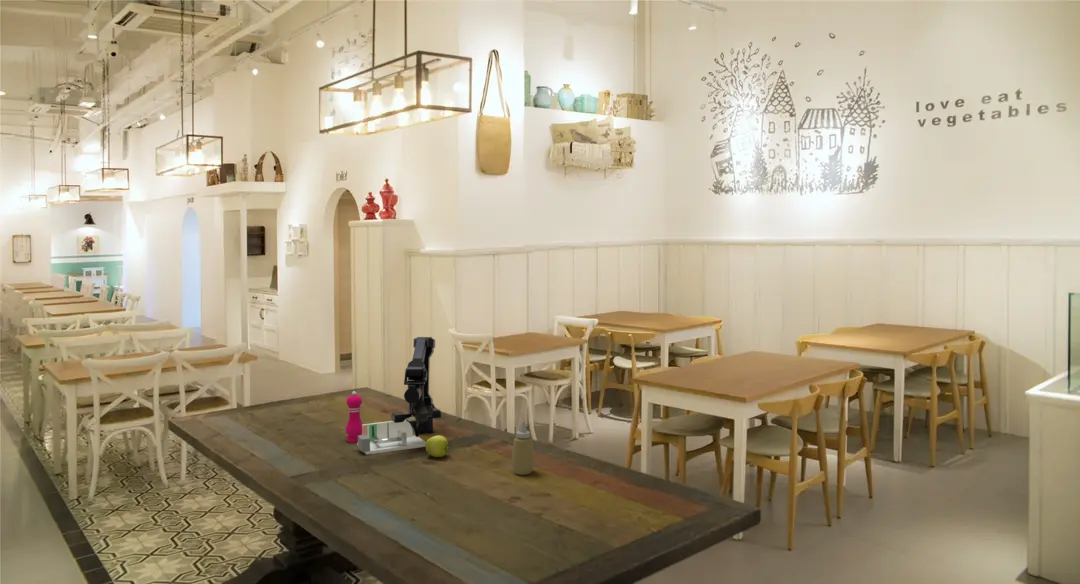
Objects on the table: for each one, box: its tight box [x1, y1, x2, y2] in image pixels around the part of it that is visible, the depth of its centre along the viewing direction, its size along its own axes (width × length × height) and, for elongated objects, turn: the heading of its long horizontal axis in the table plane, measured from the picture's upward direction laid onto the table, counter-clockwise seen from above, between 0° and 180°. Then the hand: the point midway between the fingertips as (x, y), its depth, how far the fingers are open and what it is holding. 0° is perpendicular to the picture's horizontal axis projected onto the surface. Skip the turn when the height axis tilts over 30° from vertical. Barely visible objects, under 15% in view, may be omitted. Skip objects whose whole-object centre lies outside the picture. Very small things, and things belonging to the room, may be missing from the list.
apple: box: [424, 435, 450, 458], centre depth 286 cm, size 8×9×8 cm
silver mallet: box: [372, 426, 407, 446], centre depth 299 cm, size 12×11×6 cm
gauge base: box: [356, 419, 426, 456], centre depth 300 cm, size 26×13×8 cm, turn 117°
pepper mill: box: [345, 390, 364, 444], centre depth 308 cm, size 7×7×20 cm
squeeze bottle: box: [511, 421, 536, 476], centre depth 267 cm, size 8×8×18 cm
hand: (416, 436), depth 301 cm, fingers closed
